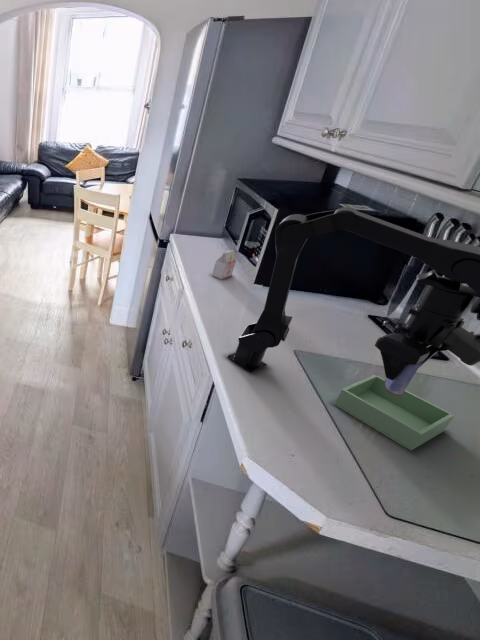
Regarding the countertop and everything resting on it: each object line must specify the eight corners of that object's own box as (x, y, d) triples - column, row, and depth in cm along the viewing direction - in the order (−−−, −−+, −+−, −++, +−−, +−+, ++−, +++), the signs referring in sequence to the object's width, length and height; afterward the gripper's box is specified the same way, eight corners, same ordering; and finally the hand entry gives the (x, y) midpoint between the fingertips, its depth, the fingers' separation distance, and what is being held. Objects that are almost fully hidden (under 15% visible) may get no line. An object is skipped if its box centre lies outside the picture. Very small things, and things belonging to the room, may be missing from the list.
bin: (410, 450, 78) (421, 434, 76) (333, 404, 89) (341, 389, 87) (443, 431, 83) (455, 415, 81) (366, 389, 94) (375, 374, 92)
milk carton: (211, 275, 149) (218, 251, 144) (221, 271, 152) (229, 247, 148) (221, 279, 146) (229, 254, 142) (231, 275, 149) (239, 251, 145)
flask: (401, 399, 79) (427, 356, 75) (381, 390, 81) (405, 348, 77) (406, 379, 84) (431, 338, 80) (387, 372, 86) (410, 331, 82)
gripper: (478, 344, 65) (431, 414, 72) (526, 321, 72) (479, 387, 78) (391, 310, 75) (357, 375, 81) (441, 293, 81) (405, 354, 87)
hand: (401, 373), depth 82 cm, fingers closed on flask, 9 cm apart
